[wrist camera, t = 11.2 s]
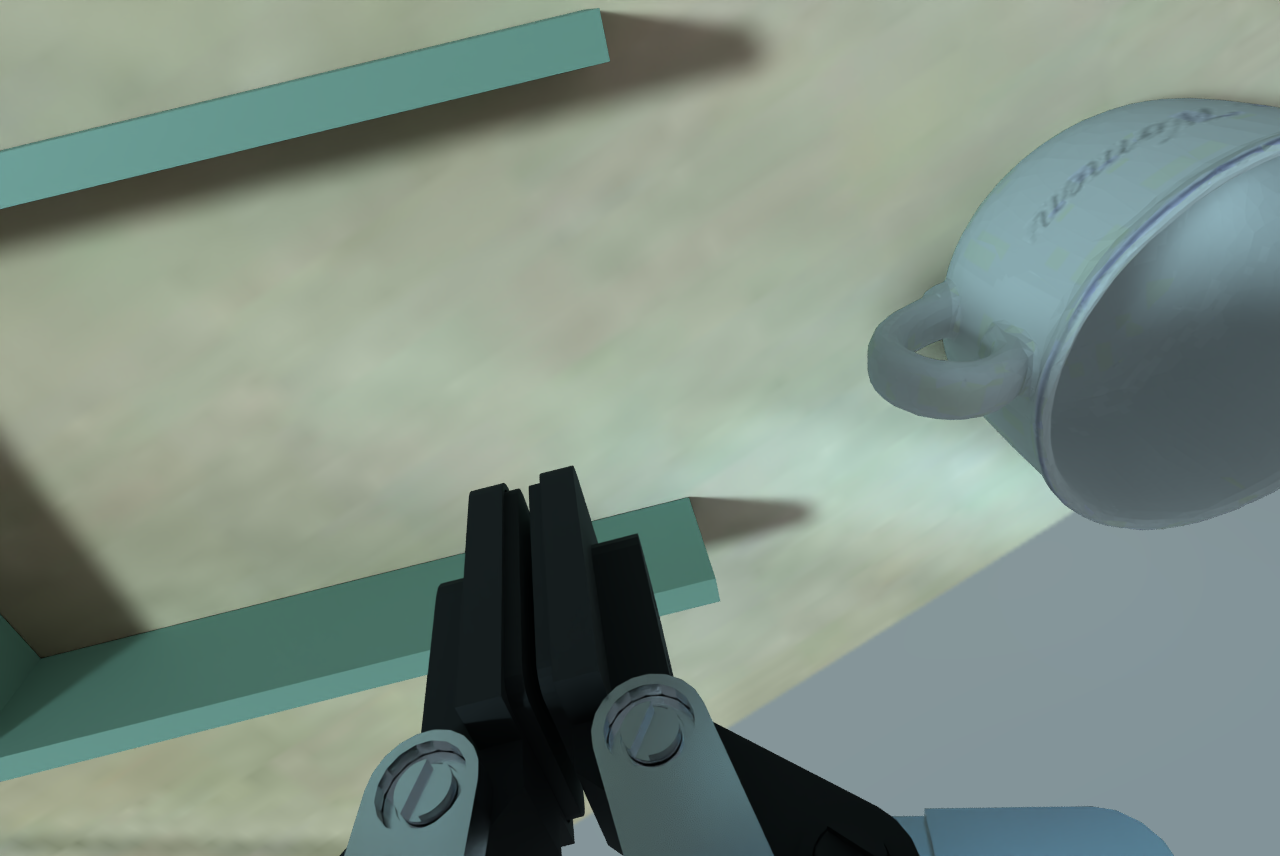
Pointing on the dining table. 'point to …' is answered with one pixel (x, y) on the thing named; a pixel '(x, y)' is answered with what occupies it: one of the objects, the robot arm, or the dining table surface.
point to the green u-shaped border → (326, 618)
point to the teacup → (1117, 314)
